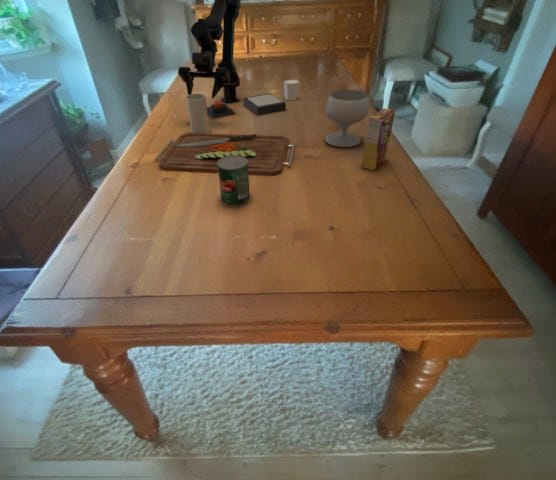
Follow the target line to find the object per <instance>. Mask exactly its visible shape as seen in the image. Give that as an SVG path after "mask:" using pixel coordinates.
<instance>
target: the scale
mask: <svg viewBox="0 0 556 480" xmlns="http://www.w3.org/2000/svg"><path fill="white" fill-rule="evenodd" d="M242 101H243V106H244V107H245V108H246V109H248V110H249V111H251V112H252V113H253V114H255V115H256V116H257V117H258V116H259V117H260V116H262V115H267V114H273V113H279V112H284V111H286V109H287V102H285V101H284V100H283V99H280V98H279V97H277V96H275V95H273V94H272V93H270V92H269V93H264V94H257V95H253V96H248V97H243V98H242Z"/></svg>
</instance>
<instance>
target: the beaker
mask: <svg viewBox="0 0 556 480" xmlns="http://www.w3.org/2000/svg"><path fill="white" fill-rule="evenodd" d="M185 99H186V100H185V101H186V108H187V114H188V120H189V126H190V133H205V134H211V133H210V132H211V130H210V123H209V115H208V113H207V108H208V107H207V97H206V95H205V94H204V93H192V94H190V95H188V94H187V95H186V96H185Z"/></svg>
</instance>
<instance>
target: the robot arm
mask: <svg viewBox="0 0 556 480" xmlns="http://www.w3.org/2000/svg"><path fill="white" fill-rule="evenodd" d="M241 5H242V3H241V0H214V1H213V4H212V7H211V9H210V12H209V15H208V16H206V17H204V18H197V21H195V22H194V23H193V24H192V25H191V27H190V33H191V35H192V37H193V38H194V41H195V42H196V44H197V46H198V47H199V48H200V50H199V52H191V63H190V64H192V65H194V66H193V67H194V69H195V70H192V69H191V67H190V66H180V67H178V69H177V75H178V76H179V78H180V79H181V80H182V82H184V83H185V85H186V91H187V96H188V95H190V94H193V89H194V85H195V84H194V80H195V78H204V79H213V80H214V83H213V86H212V91H211V98H212V99H213V100H214V99H215V98H216V96H217V94H219V92H220V91H221V89H222V92H223V97H222V98H221V100H222V102H224V103H225V104H229V103H234V102H239V101H240V98H238V97H237V88H238V87H240V86H241V81H240V80H241V79H240V76H239V74H238V72H237V67H236V65H235V62H234V50H235V49H234V48H235V25H236V24H235V23H236V21H237V19H238V17H239V15H240V9H241ZM222 24H223V25H222ZM221 39H222V55H221V56H222V57H221V61H220V62H218V63H217V67H216V62H215V61H216V54H217V53H218V52H219V51H218V44H217V43H216V41H220V40H221ZM214 67H216V68H214ZM214 69H215V71H214Z"/></svg>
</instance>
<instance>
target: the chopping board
mask: <svg viewBox="0 0 556 480" xmlns="http://www.w3.org/2000/svg"><path fill="white" fill-rule="evenodd" d="M169 146H170V147H169ZM295 147H296V143H295V142H294V143H292V144H290V139H289V138H288V136H283V135H264V134H263V135H262V134H261V135H260V134H259V135H258V134H256V133H254V134H236V133H235V134H234V133H233V134H232V133H209V134H205V133H191V132H187V133H182V134H180V135H179V136H177V138H176V140H174V139H173V138H171V139H170V140H169V141H168V143H166V145H165V146H164V147H163V148H162V150H160V152H159V153H158V154H157V156H156V157H155V158H154V161H155V162H157V161H158V163H157V164H158V168H159V170H162V171H172V172H173V171H174V172H192V173H210V174H211V173H212V174H213V173H214V174H219V173H218V165H217V162H218V160H219V159H221V158H223V157H225V156H230V155H239V156H243V157H245V158H247V160H248V175H249V176H250V175H251V176H277V175H280V174H282V173H283V171H284V167H285V165H287V167H288V168H291V167H292V162H293V157H294V152H295ZM289 148H291V150H290V155H289V160H288V162H286V157H287V153H288V149H289ZM164 152H165V153H164ZM163 153H164V154H163ZM162 155H163V156H162ZM161 156H162V157H161Z"/></svg>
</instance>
